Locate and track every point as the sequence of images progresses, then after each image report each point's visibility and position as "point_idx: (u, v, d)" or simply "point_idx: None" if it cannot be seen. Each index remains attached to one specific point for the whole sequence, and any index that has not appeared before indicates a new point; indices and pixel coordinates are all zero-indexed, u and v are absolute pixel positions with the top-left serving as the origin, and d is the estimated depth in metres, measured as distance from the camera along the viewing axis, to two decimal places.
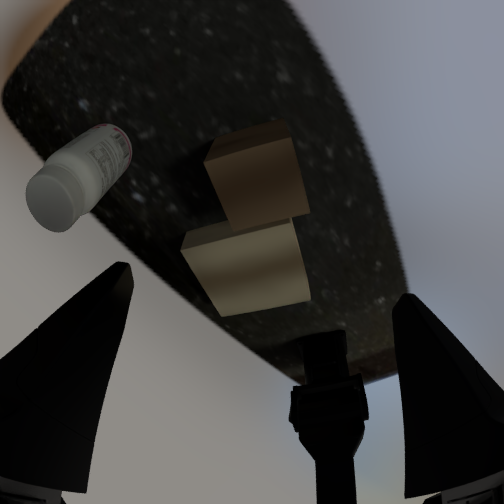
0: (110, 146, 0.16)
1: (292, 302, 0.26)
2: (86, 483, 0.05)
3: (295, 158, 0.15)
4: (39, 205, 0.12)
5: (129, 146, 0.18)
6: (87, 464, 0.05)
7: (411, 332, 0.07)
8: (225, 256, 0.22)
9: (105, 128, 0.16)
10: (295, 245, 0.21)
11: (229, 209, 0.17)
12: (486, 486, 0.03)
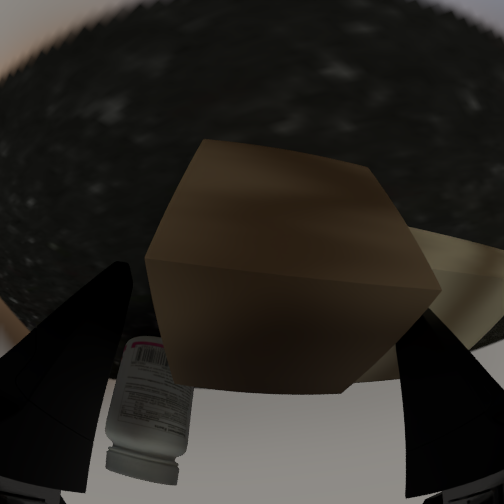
0: (136, 379, 0.12)
1: None
2: (85, 483, 0.05)
3: (232, 273, 0.04)
4: None
5: None
6: (86, 464, 0.05)
7: (412, 332, 0.07)
8: None
9: (125, 353, 0.14)
10: (459, 274, 0.08)
11: (293, 391, 0.07)
12: (486, 486, 0.03)
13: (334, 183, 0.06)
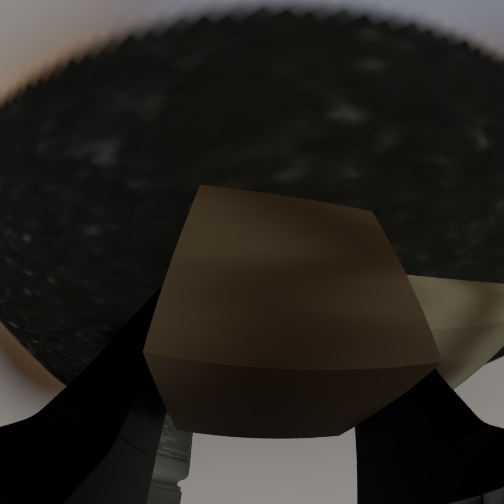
0: None
1: None
2: (146, 502, 0.05)
3: (233, 368, 0.04)
4: None
5: None
6: (149, 483, 0.05)
7: None
8: None
9: None
10: (451, 330, 0.07)
11: (292, 436, 0.07)
12: None
13: (338, 240, 0.06)
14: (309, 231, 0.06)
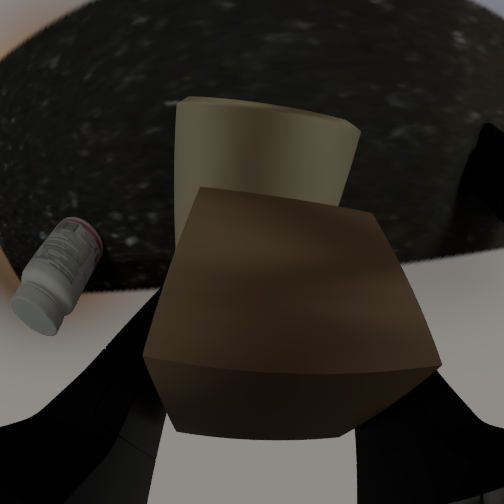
0: (51, 238, 0.16)
1: (348, 161, 0.13)
2: (146, 502, 0.05)
3: (232, 372, 0.04)
4: (33, 323, 0.14)
5: (76, 220, 0.18)
6: (149, 483, 0.05)
7: None
8: None
9: None
10: (221, 108, 0.12)
11: (292, 438, 0.07)
12: None
13: (338, 243, 0.06)
14: (309, 233, 0.06)
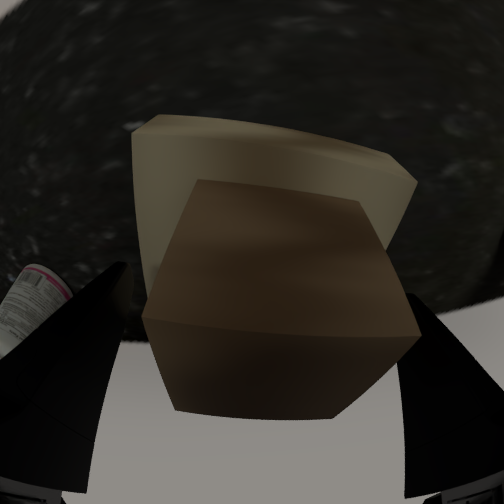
0: (11, 293, 0.12)
1: (394, 223, 0.09)
2: (86, 483, 0.05)
3: (220, 331, 0.04)
4: None
5: (39, 269, 0.14)
6: (87, 464, 0.05)
7: None
8: None
9: None
10: (203, 140, 0.07)
11: (286, 417, 0.07)
12: (486, 486, 0.03)
13: (323, 226, 0.07)
14: (296, 218, 0.07)
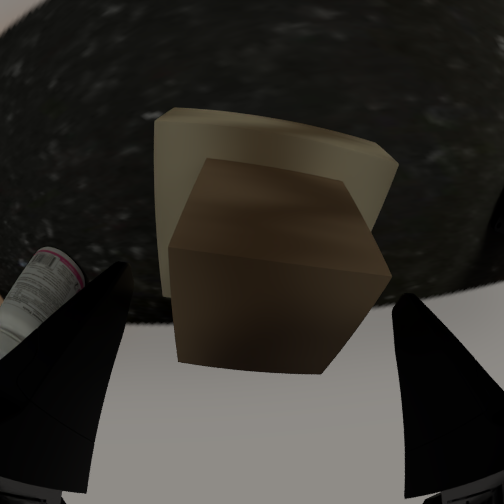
0: (25, 274, 0.13)
1: (379, 201, 0.10)
2: (86, 483, 0.05)
3: (229, 258, 0.06)
4: None
5: (53, 252, 0.15)
6: (87, 464, 0.05)
7: (411, 332, 0.07)
8: None
9: (29, 262, 0.15)
10: (215, 127, 0.09)
11: (278, 369, 0.09)
12: (486, 486, 0.03)
13: (311, 196, 0.08)
14: (288, 189, 0.08)
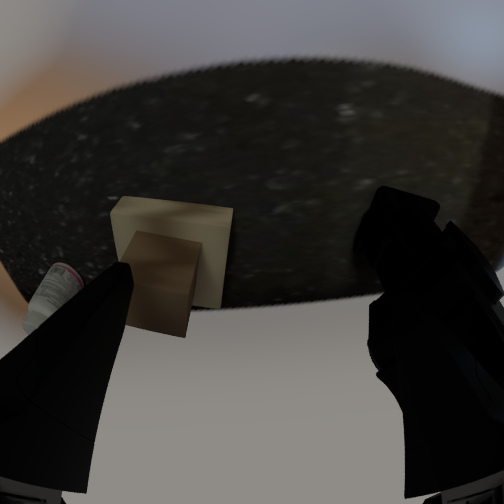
0: (46, 279, 0.23)
1: (225, 246, 0.20)
2: (86, 483, 0.05)
3: None
4: None
5: (63, 266, 0.25)
6: (87, 464, 0.05)
7: (411, 332, 0.07)
8: None
9: None
10: (136, 217, 0.19)
11: (163, 331, 0.19)
12: (486, 486, 0.03)
13: (175, 254, 0.18)
14: (166, 250, 0.18)
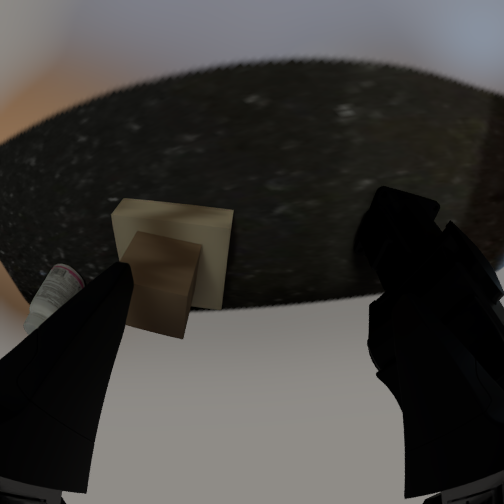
0: (48, 281, 0.23)
1: (225, 248, 0.20)
2: (86, 483, 0.05)
3: None
4: None
5: (64, 267, 0.25)
6: (87, 464, 0.05)
7: (411, 332, 0.07)
8: None
9: (49, 273, 0.25)
10: (137, 218, 0.19)
11: (161, 332, 0.19)
12: (486, 486, 0.03)
13: (175, 255, 0.18)
14: (166, 252, 0.18)
